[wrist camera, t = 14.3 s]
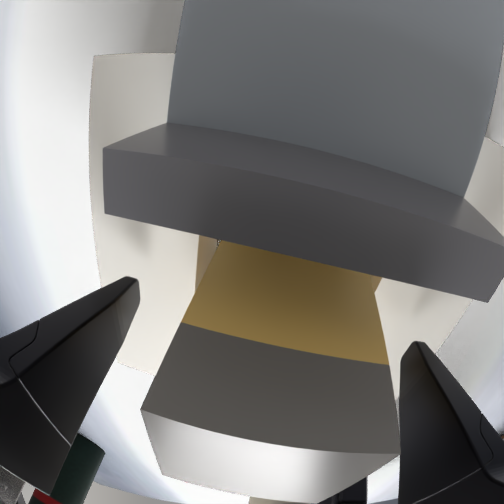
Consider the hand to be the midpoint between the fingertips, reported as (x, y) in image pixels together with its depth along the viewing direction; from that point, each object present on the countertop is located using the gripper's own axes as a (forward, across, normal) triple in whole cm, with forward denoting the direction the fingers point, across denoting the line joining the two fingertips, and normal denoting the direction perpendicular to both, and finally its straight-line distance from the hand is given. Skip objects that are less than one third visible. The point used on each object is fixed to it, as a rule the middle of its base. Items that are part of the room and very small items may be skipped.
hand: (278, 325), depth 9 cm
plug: (+4, 0, 0) cm, 4 cm away
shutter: (+1, 0, -8) cm, 8 cm away
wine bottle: (+4, +23, +44) cm, 50 cm away
